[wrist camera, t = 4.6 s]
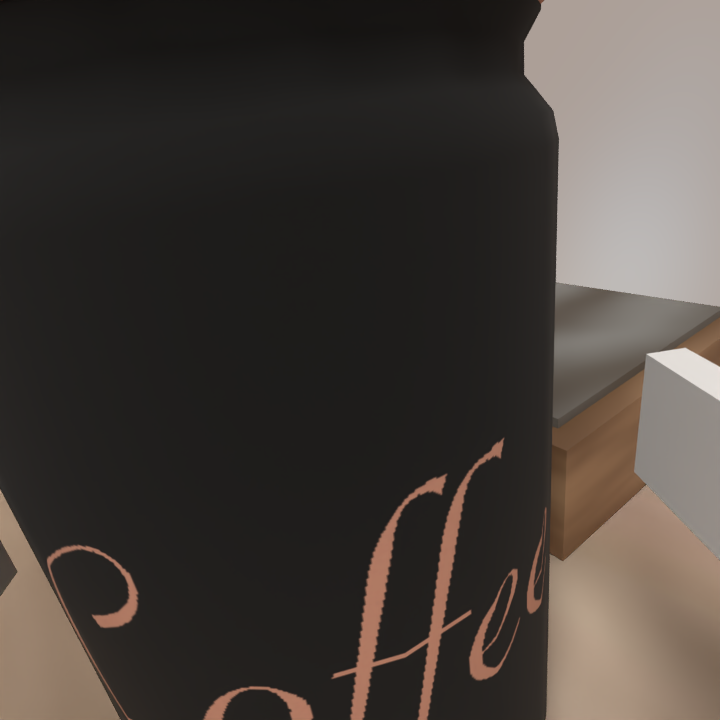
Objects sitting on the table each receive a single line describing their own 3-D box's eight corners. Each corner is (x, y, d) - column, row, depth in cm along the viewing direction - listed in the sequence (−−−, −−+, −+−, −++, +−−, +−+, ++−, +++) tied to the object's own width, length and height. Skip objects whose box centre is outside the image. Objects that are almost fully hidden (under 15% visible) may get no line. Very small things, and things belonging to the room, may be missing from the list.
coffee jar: (116, 1000, 11) (-784, -94, 3) (221, 585, 20) (52, 81, 13) (627, 934, 10) (849, -353, 3) (484, 549, 20) (460, 20, 13)
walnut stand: (330, 418, 31) (316, 337, 29) (498, 336, 39) (497, 269, 37) (562, 560, 19) (566, 441, 17) (737, 400, 27) (755, 305, 25)
